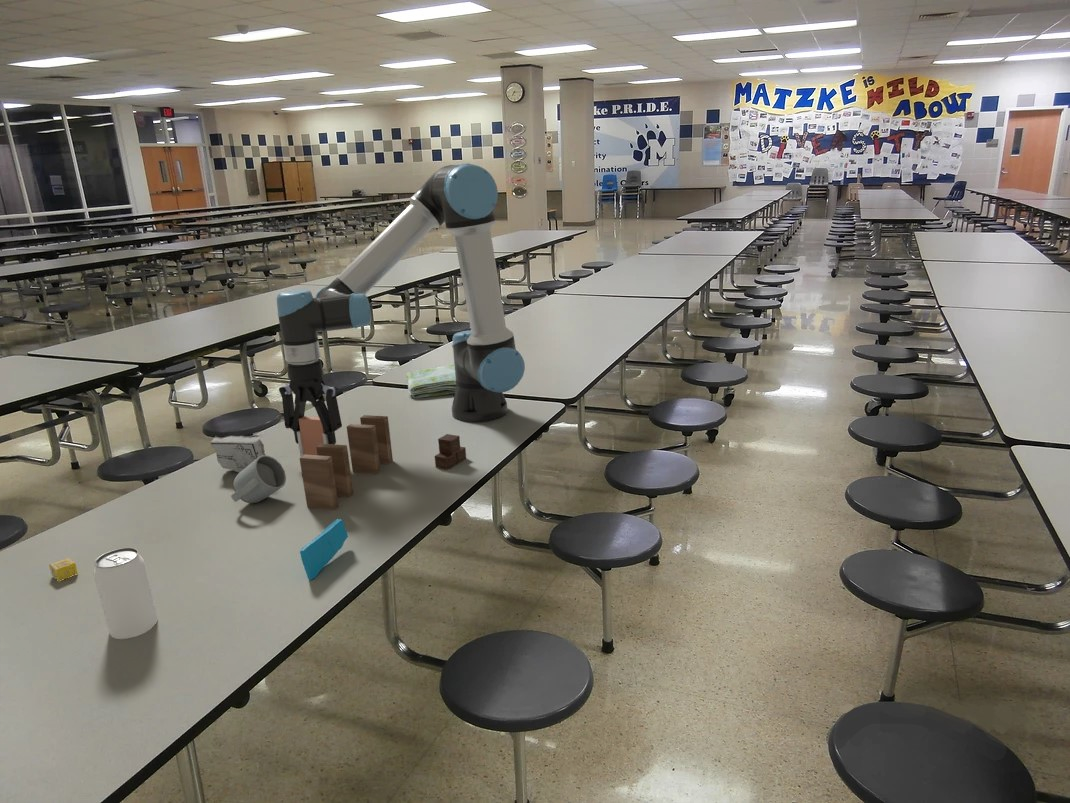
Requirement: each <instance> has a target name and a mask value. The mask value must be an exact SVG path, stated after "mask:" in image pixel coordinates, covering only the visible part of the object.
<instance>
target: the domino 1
mask: <svg viewBox="0 0 1070 803" xmlns="http://www.w3.org/2000/svg"><path fill="white" fill-rule="evenodd" d="M299 426H300V432H301V437H302V444H303V450H304V455H317V449H316V447H317V446H318V445H320V444H324V442H323V435H322V434H323V433H324V432H325V430H324V428H323V425H322V423H321V421H320V418H319V416H305V415H304V416H303V417H301V418H300V419H299Z"/></svg>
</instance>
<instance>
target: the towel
mask: <svg viewBox="0 0 1070 803" xmlns="http://www.w3.org/2000/svg"><path fill="white" fill-rule="evenodd" d="M406 382H407V390H408V396H409V397H410V399H421V398H422V399H423V398H426V397H437V396H443V395H450V394H451V395H453V394H454V395H455V392H456V376H455V365H454V364H448V365H444V366H443V365H442V366H438V367H436V366H435V367H430V368H429V367H428V368H423V369H417V370H412V371H408V372H406Z"/></svg>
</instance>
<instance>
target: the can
mask: <svg viewBox="0 0 1070 803" xmlns="http://www.w3.org/2000/svg"><path fill="white" fill-rule="evenodd" d="M94 566H95V567H94V571H93V576H94V581H95V584H96V588H97V591H98V596H99V600H100V603H101V604H100V605H101V608H102V611H103V615H104V618H105V622H106V626H107V629H108V633H109V636H110V637H111V638H114V639H116V640H117V639H118V640H125V639H130V638H131V639H132V638H135V637H139V636H141V635H144V634H145V633H147V632H148V631H150V630H152V629H153V628H154V627H155V626H156V625H155V624H157V623H158V620H159V618H158V613H157V608H156V605H155V600H154V596H153V593H152V588H151V585H150V584H151V583H150V579H149V575H148V572H147V571H148V570H147V567H146V564H145V560H144V558H143V557H142V556H141V555H140V554H139V550H138V549H136V548H134V547H121V548H117V549H113V550H110V551H107V552H105V553H103V554H102V555H100V556H99V557H97V558H96V559H95V561H94ZM154 625H155V626H154ZM153 626H154V627H153ZM152 627H153V628H152Z"/></svg>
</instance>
